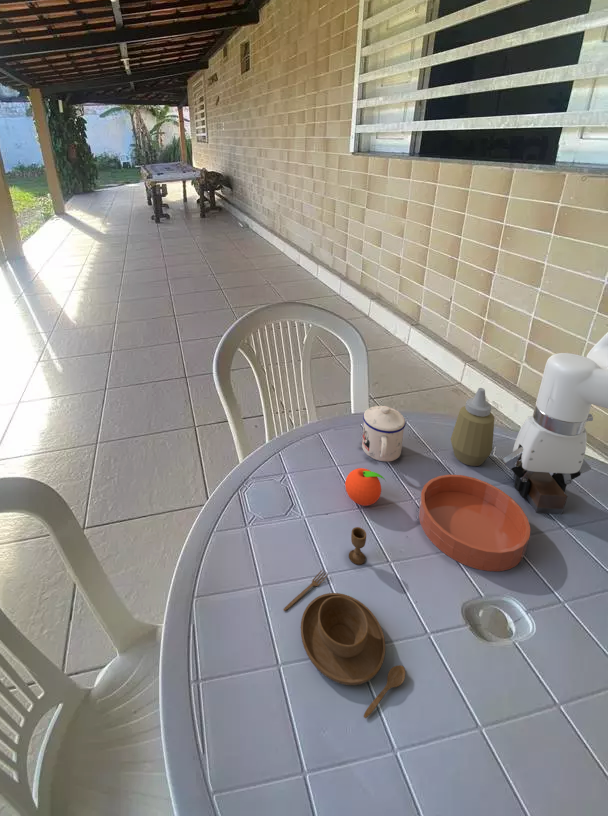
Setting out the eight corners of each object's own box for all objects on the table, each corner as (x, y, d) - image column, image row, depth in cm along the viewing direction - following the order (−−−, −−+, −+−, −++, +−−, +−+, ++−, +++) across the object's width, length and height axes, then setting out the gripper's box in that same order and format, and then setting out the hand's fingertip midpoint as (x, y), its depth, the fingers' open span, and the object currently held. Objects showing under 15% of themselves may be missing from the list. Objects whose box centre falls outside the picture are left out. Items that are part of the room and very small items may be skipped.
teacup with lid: (361, 434, 105) (363, 394, 100) (400, 439, 102) (405, 399, 98) (360, 468, 94) (363, 425, 90) (404, 475, 91) (410, 431, 87)
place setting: (270, 616, 66) (269, 591, 64) (353, 545, 77) (354, 521, 74) (364, 733, 53) (367, 706, 50) (448, 627, 63) (454, 600, 61)
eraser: (536, 478, 88) (540, 461, 87) (561, 514, 80) (567, 496, 78) (512, 477, 89) (517, 460, 87) (535, 512, 81) (540, 494, 79)
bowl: (498, 494, 85) (502, 477, 84) (545, 576, 69) (552, 556, 68) (408, 489, 88) (410, 472, 86) (434, 566, 72) (438, 547, 70)
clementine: (379, 486, 89) (381, 459, 86) (390, 513, 82) (393, 485, 80) (340, 486, 89) (342, 460, 87) (348, 514, 83) (350, 486, 80)
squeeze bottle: (443, 444, 99) (454, 378, 93) (480, 446, 98) (493, 379, 92) (455, 469, 92) (468, 399, 85) (496, 471, 91) (511, 401, 84)
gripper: (597, 408, 80) (573, 482, 86) (498, 404, 82) (483, 476, 89) (626, 433, 73) (598, 512, 80) (517, 429, 76) (499, 505, 82)
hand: (537, 492), depth 84 cm, fingers open, 5 cm apart
